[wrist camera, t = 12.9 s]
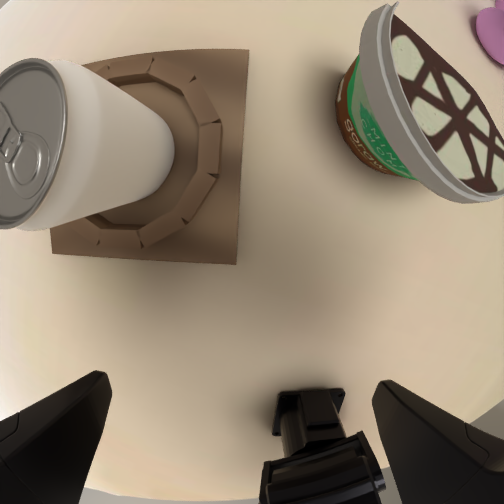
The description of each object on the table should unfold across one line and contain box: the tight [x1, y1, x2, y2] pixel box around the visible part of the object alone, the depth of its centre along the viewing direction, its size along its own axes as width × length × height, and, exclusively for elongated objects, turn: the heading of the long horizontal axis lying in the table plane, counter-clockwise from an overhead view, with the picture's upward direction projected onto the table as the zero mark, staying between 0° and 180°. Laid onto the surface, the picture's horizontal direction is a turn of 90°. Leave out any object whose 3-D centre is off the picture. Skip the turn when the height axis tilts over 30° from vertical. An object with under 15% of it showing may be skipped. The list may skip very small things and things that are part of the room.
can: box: [0, 58, 175, 231], centre depth 11 cm, size 6×6×12 cm
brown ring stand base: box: [50, 49, 249, 265], centre depth 17 cm, size 15×15×3 cm
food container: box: [335, 1, 504, 204], centre depth 14 cm, size 12×6×10 cm, turn 55°
